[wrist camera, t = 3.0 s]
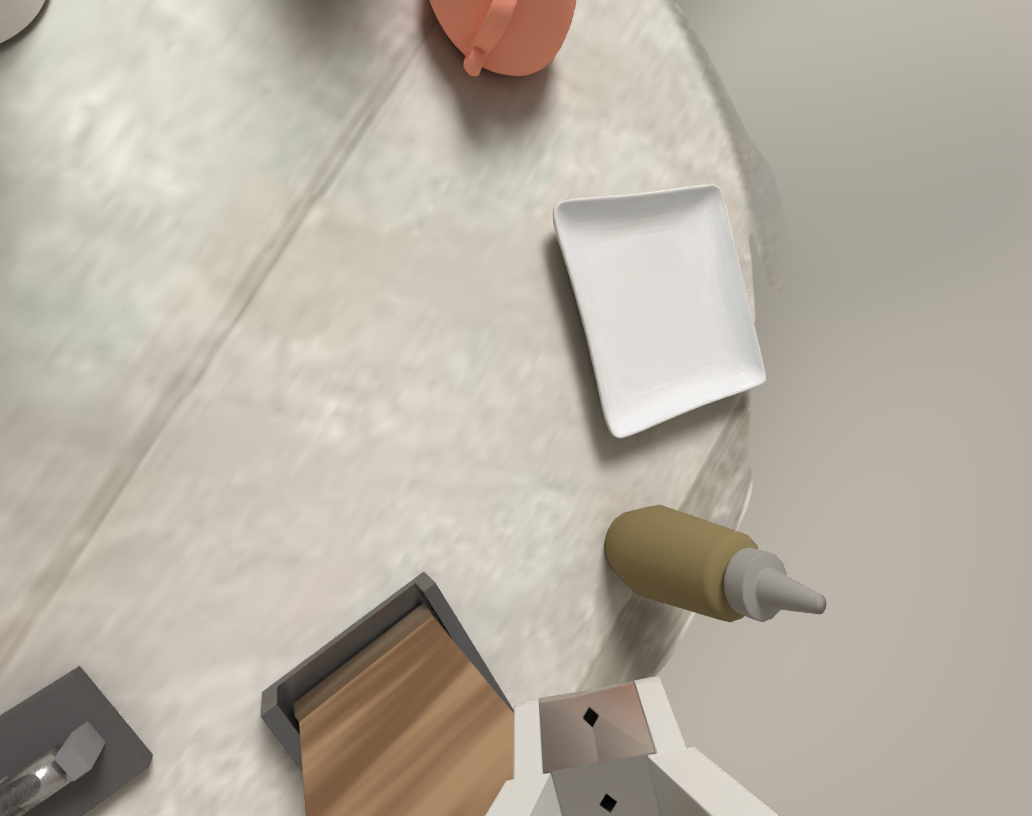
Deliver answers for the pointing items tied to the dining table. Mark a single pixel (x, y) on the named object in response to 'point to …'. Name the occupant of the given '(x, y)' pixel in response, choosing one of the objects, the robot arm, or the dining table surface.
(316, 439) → the dining table surface
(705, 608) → the squeeze bottle
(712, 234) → the salad plate
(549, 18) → the sugar bowl
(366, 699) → the walnut paddle
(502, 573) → the dining table surface
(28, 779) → the toggle lever
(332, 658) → the paddle track
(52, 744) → the lever base
